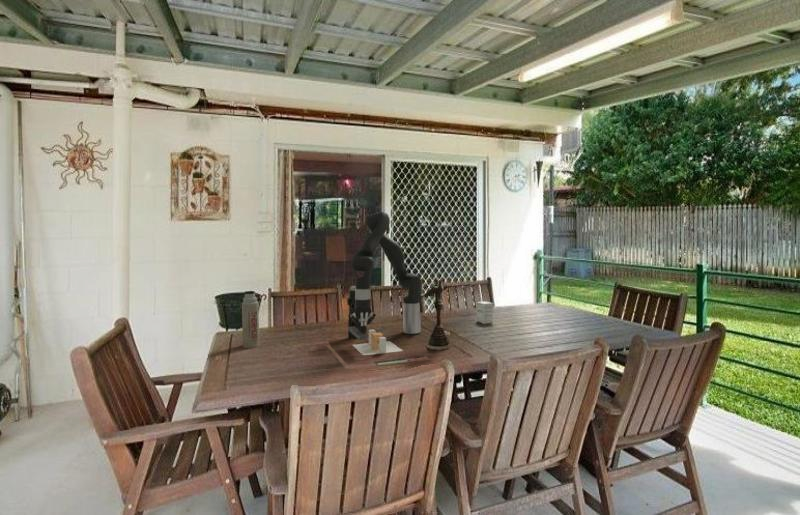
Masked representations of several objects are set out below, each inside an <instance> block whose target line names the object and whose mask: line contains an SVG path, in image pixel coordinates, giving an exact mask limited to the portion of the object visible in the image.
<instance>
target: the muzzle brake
mask: <svg viewBox="0 0 800 515" xmlns="http://www.w3.org/2000/svg"><path fill="white" fill-rule="evenodd" d="M355 291H356V285H352V286H350V287H349V290H348V298H347V301H346V303H347V306H348V315H347V317H348V320H347V335H348V338H349V339H351V340H356V339H358V338H357V337H355V336H354V335H353V334H352V333H351V332H350V331H349V327H354V326H355V327H356V328H357V329H359V330H360V325H357V324H356V323H355V322H354V320H353V319H352V318H351V317H350V315H352V314H353V313H354V311H355ZM356 319H357V321H358V322H359V318H358V317H357V316H356ZM365 335H366V336H367V331H366V332H365Z"/></svg>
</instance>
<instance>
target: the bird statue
mask: <svg viewBox="0 0 800 515" xmlns="http://www.w3.org/2000/svg"><path fill="white" fill-rule="evenodd" d="M430 286H431V288H430V289H429V290H428V291H427V292H425V293H421V297H420V299H423V297H424V298H427V297H428V298H429V297H434V296H435V297H434V298H435V302H434V303H433V306H434V309H436V316H435V318H436V325H434V328H433V332H431V334H430V338H429V341H428V342H427V343H426V348H428V349H431V350H434V349H436V350H437V351H442V349H443V350H448V349H447V348H450V347H451V343H450V340H449V339H448V335H447V333H446V331H445V329H444V325H442V310H443V308H444V302H443V299H442V298H441V295H442V293H443V292H444V291H445V290H446V289H448V288H449V287H450V285H449V284H445V285H444V286H443V283H442V279H440V280H438V286H436V285H434V283H433V282H431V285H430ZM449 346H450V347H449Z"/></svg>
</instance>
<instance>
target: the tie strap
mask: <svg viewBox="0 0 800 515" xmlns="http://www.w3.org/2000/svg"><path fill="white" fill-rule="evenodd" d="M349 331H350V332H351V333H352V334H353V335H354V336H355V337H357V338H356V339H358V340H359V341H365V340H367V334H366V335H365V334H364V333H362V332H361V331H360V330H359V329H357V328H356V327H355V326H354V327H349Z"/></svg>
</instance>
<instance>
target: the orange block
mask: <svg viewBox="0 0 800 515" xmlns="http://www.w3.org/2000/svg"><path fill="white" fill-rule="evenodd" d="M379 337H384V334H383V333H382V332H380V331H379V332H378V331H377V332H375V333H371V347H372V348H373V349H379Z"/></svg>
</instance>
